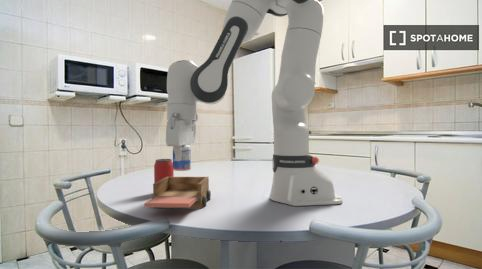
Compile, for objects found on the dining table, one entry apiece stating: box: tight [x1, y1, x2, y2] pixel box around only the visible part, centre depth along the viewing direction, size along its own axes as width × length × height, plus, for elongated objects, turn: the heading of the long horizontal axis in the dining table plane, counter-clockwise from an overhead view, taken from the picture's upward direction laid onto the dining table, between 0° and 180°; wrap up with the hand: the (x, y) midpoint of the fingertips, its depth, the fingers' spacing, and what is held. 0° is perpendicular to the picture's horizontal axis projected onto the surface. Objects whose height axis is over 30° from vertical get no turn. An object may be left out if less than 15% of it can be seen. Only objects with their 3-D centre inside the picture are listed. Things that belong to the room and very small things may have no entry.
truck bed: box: [151, 176, 212, 209], centre depth 85 cm, size 16×12×7 cm
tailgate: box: [143, 196, 198, 208], centre depth 74 cm, size 12×1×9 cm
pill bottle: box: [172, 138, 192, 172], centre depth 85 cm, size 6×5×10 cm
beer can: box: [153, 158, 175, 184], centre depth 98 cm, size 7×7×12 cm
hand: (181, 159), depth 85 cm, fingers closed on pill bottle, 5 cm apart
